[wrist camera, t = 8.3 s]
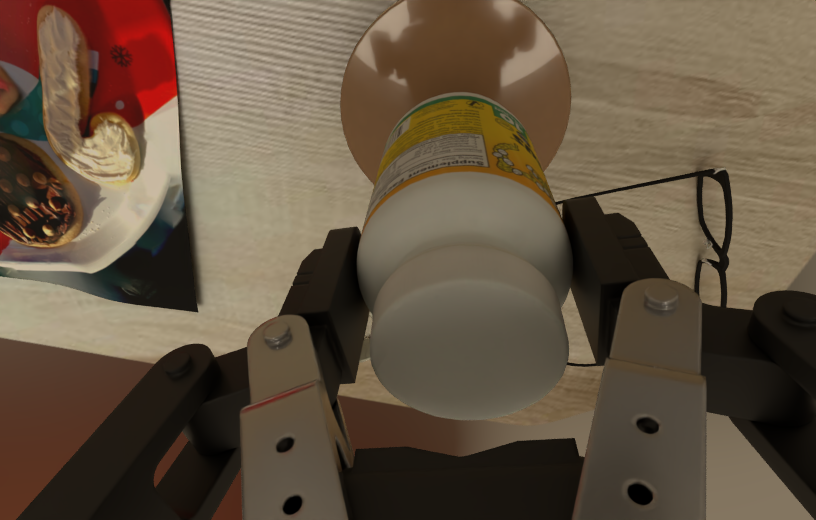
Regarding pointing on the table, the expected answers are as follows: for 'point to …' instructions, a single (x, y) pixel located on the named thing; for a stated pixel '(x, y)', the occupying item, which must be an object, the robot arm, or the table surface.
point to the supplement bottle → (464, 263)
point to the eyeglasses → (722, 265)
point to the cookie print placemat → (93, 151)
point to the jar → (454, 71)
